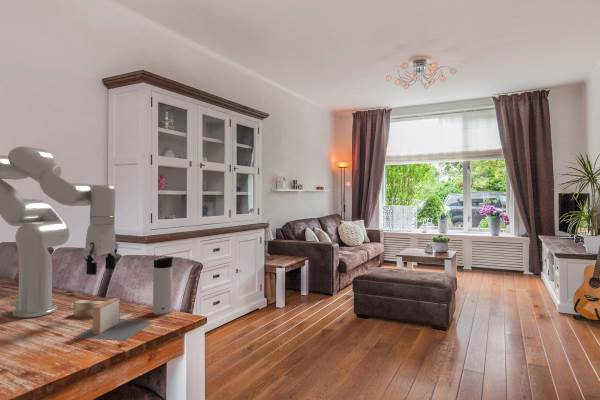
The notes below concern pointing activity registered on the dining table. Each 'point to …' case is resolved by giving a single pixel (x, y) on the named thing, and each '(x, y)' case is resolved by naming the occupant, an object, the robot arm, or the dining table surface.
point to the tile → (106, 315)
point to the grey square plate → (117, 331)
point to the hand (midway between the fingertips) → (101, 271)
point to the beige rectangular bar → (90, 308)
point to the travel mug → (162, 286)
